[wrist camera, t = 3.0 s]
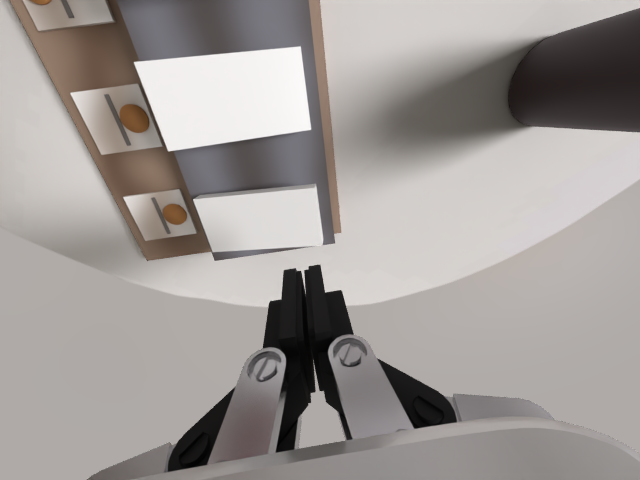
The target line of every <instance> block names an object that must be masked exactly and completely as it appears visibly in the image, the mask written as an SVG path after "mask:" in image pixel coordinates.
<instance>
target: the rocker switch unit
mask: <svg viewBox="0 0 640 480" xmlns="http://www.w3.org/2000/svg"><path fill="white" fill-rule="evenodd" d="M10 1H11V3H12V5H13V7H14V9H15V11H16V13H17V15H18V17H19V19H20V20H21V22H22V24H23V26H24V28H25V30H26V32H27V34H28V36H29V38H30V39H31V41H32V43H33V45H34V47H35V49H36V51H37V53H38V55H39V57H40V58H41V60H42V62H43V64H44V66H45V68H46V70H47V72H48V74H49V75H50V77H51V79H52V81H53V83H54V85H55V87H56V89H57V91H58V93H59V94H60V96H61V98H62V100H63V102H64V104H65V106H66V108H67V110H68V112H69V113H70V115H71V117H72V119H73V121H74V123H75V125H76V127H77V129H78V131H79V132H80V134H81V136H82V138H83V140H84V142H85V144H86V146H87V148H88V149H89V151H90V153H91V155H92V157H93V159H94V161H95V163H96V165H97V167H98V168H99V170H100V172H101V174H102V176H103V178H104V180H105V182H106V184H107V186H108V187H109V189H110V191H111V193H112V195H113V197H114V199H115V201H116V203H117V205H118V206H119V208H120V210H121V212H122V214H123V216H124V218H125V220H126V222H127V223H128V225H129V227H130V229H131V231H132V233H133V235H134V237H135V239H136V241H137V242H138V244H139V246H140V248H141V250H142V252H143V254H144V256H145V258H146V260H147V261H149V260H156V259H163V258H170V257H176V256H183V255H190V254H197V253H204V252H212V249H211V246H210V244H209V241H208V238H207V236H206V233H205V230H204V228H203V225H202V222H201V220H200V217H199V214H198V212H197V209H196V206H195V204H194V201H193V199H194V198H196V197H198V196H199V195H205V194H216V193H226V192H236V191H247V190H257V189H268V188H278V187H288V186H299V185H309V184H316V187H317V195H318V202H319V210H320V218H321V225H322V233H323V244H322V245H327V244H334V243H335V239H334V234H335V233H341V224H340V214H339V203H338V192H337V181H336V171H335V160H334V149H333V138H332V127H331V117H330V106H329V95H328V84H327V74H326V63H325V52H324V41H323V30H322V20H321V9H320V0H10ZM300 46H301V53H302V61H303V69H304V77H305V84H306V92H307V100H308V108H309V116H310V123H311V130H307V131H300V132H293V133H287V134H280V135H274V136H267V137H260V138H254V139H247V140H241V141H234V142H228V143H221V144H214V145H208V146H201V147H195V148H188V149H181V150H175V151H168V149H167V147H166V144H165V142H164V139H163V137H162V134H161V131H160V129H159V126H158V124H157V121H156V118H155V116H154V113H153V111H152V108H151V106H150V103H149V100H148V98H147V95H146V93H145V90H144V87H143V85H142V82H141V80H140V77H139V75H138V72H137V69H136V67H135V64H134V62H139V61H150V60H161V59H172V58H182V57H193V56H204V55H214V54H225V53H236V52H247V51H257V50H268V49H279V48H289V47H300ZM307 247H313V246H307ZM299 248H306V247H290V248H274V249H257V250H241V251H224V252H212V254H213V257H214V260H215V261H217V260H224V259H231V258H238V257H244V256H251V255H258V254H265V253H272V252H279V251H286V250H292V249H299Z"/></svg>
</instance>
